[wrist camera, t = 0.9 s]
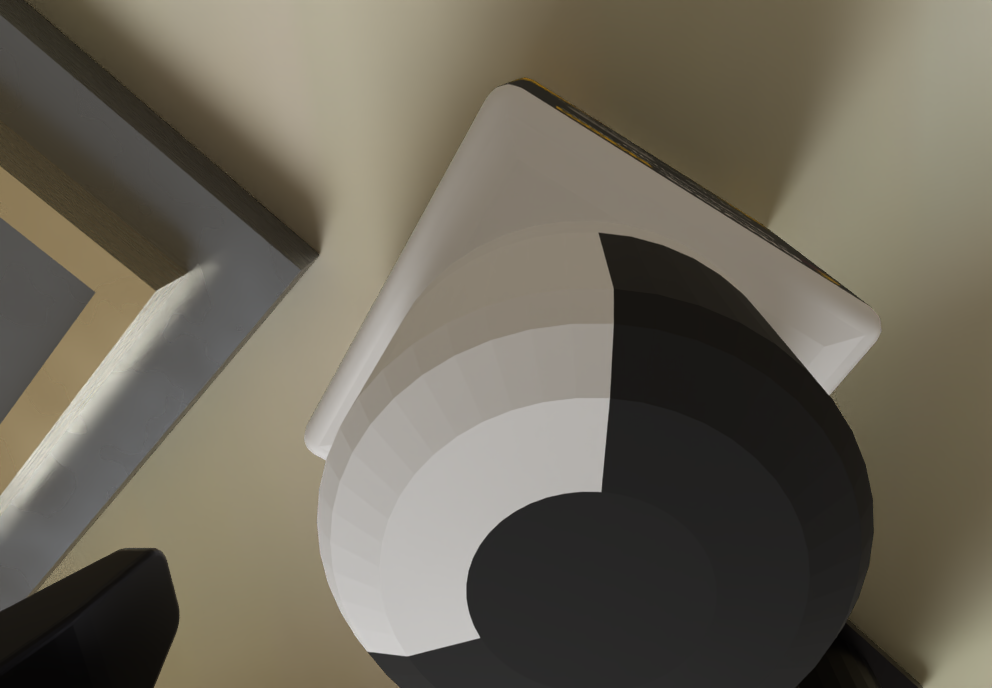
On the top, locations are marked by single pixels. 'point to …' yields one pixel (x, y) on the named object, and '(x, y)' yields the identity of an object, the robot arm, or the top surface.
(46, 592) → the robot arm
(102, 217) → the picture frame
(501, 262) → the medicine bottle
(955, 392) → the top surface
